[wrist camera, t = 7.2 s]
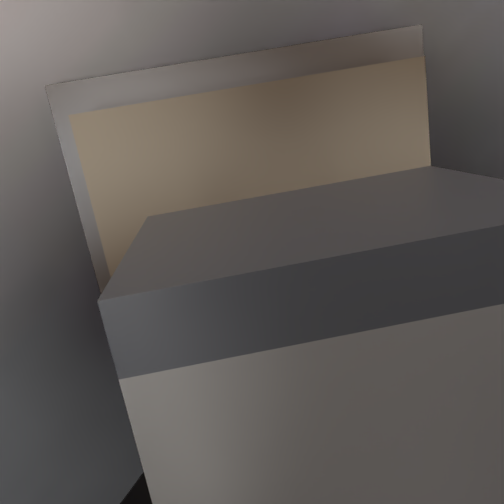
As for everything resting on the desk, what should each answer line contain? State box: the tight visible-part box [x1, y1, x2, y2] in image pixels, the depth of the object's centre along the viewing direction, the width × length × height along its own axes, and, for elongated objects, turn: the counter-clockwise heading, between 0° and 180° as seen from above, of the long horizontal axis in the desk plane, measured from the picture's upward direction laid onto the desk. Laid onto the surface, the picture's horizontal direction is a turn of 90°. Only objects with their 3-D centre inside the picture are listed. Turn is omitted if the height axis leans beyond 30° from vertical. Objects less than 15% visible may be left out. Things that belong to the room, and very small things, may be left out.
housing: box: [97, 166, 504, 504], centre depth 7 cm, size 8×5×4 cm, turn 9°
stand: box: [45, 24, 431, 294], centre depth 15 cm, size 14×11×3 cm
